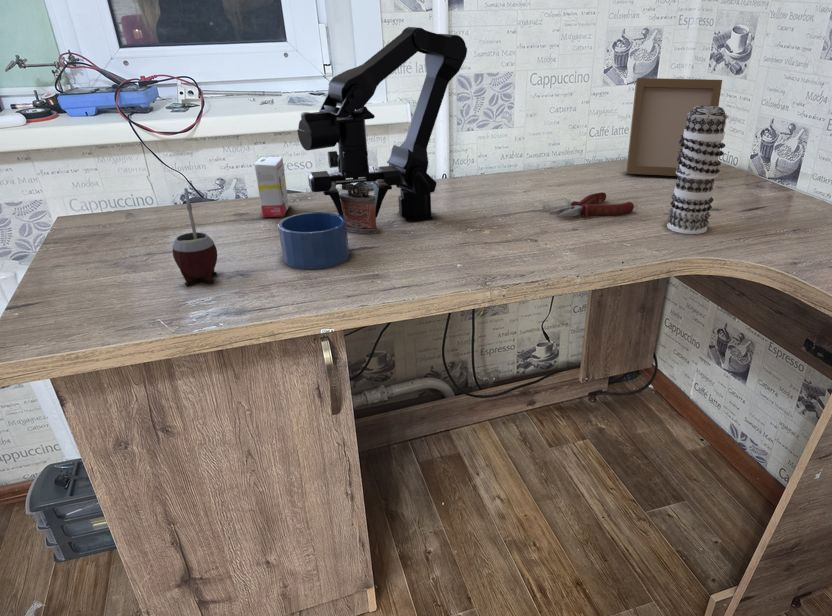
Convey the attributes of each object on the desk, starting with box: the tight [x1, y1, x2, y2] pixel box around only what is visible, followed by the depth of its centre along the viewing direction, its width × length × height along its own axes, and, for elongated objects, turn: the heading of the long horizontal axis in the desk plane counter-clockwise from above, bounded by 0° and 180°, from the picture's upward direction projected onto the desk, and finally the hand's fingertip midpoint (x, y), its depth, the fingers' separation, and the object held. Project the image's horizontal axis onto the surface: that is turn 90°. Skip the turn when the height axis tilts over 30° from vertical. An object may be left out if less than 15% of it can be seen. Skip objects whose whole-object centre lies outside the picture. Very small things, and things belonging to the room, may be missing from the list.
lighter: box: [339, 182, 379, 234], centre depth 133 cm, size 8×3×10 cm, turn 71°
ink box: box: [253, 156, 290, 218], centre depth 143 cm, size 9×5×12 cm, turn 5°
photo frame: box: [625, 77, 723, 177], centre depth 174 cm, size 15×22×25 cm
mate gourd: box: [172, 187, 218, 287], centre depth 108 cm, size 8×8×15 cm
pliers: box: [548, 191, 635, 218], centre depth 146 cm, size 12×20×3 cm, turn 122°
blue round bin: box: [277, 211, 350, 270], centre depth 120 cm, size 12×12×7 cm
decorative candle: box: [666, 105, 729, 235], centre depth 131 cm, size 9×9×25 cm
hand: (359, 218), depth 134 cm, fingers open, 7 cm apart
